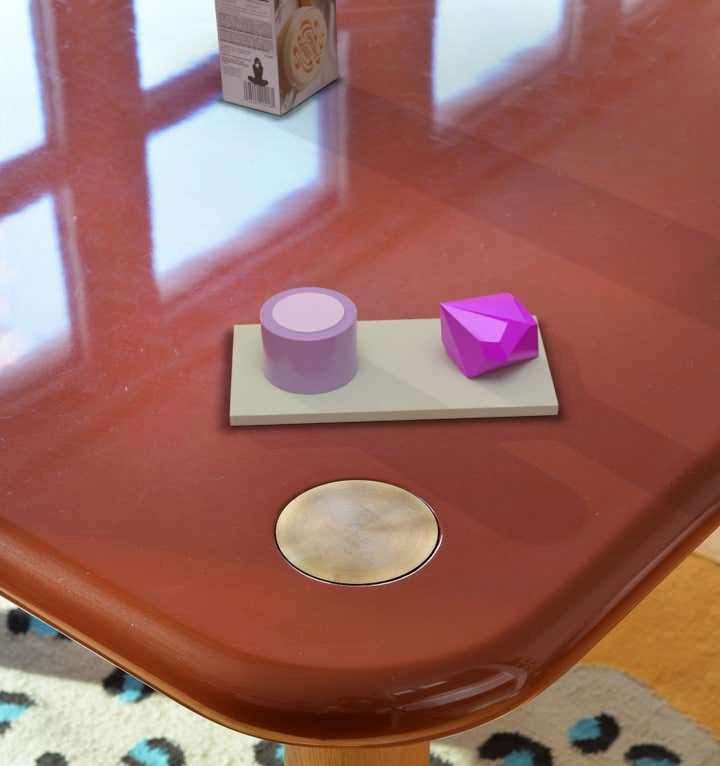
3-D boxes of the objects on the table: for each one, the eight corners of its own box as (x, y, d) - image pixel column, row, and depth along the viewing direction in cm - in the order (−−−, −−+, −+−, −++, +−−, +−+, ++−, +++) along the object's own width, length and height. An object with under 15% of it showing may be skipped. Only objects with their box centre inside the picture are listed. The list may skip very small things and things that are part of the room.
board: (535, 325, 91) (536, 315, 90) (557, 415, 83) (558, 404, 83) (234, 334, 90) (234, 324, 90) (230, 426, 83) (229, 415, 82)
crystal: (495, 395, 83) (500, 331, 80) (427, 362, 86) (429, 299, 83) (545, 359, 86) (551, 296, 83) (477, 328, 89) (481, 266, 86)
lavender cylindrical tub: (355, 338, 88) (355, 284, 85) (360, 393, 84) (359, 337, 81) (263, 341, 88) (259, 287, 85) (262, 396, 84) (258, 340, 81)
